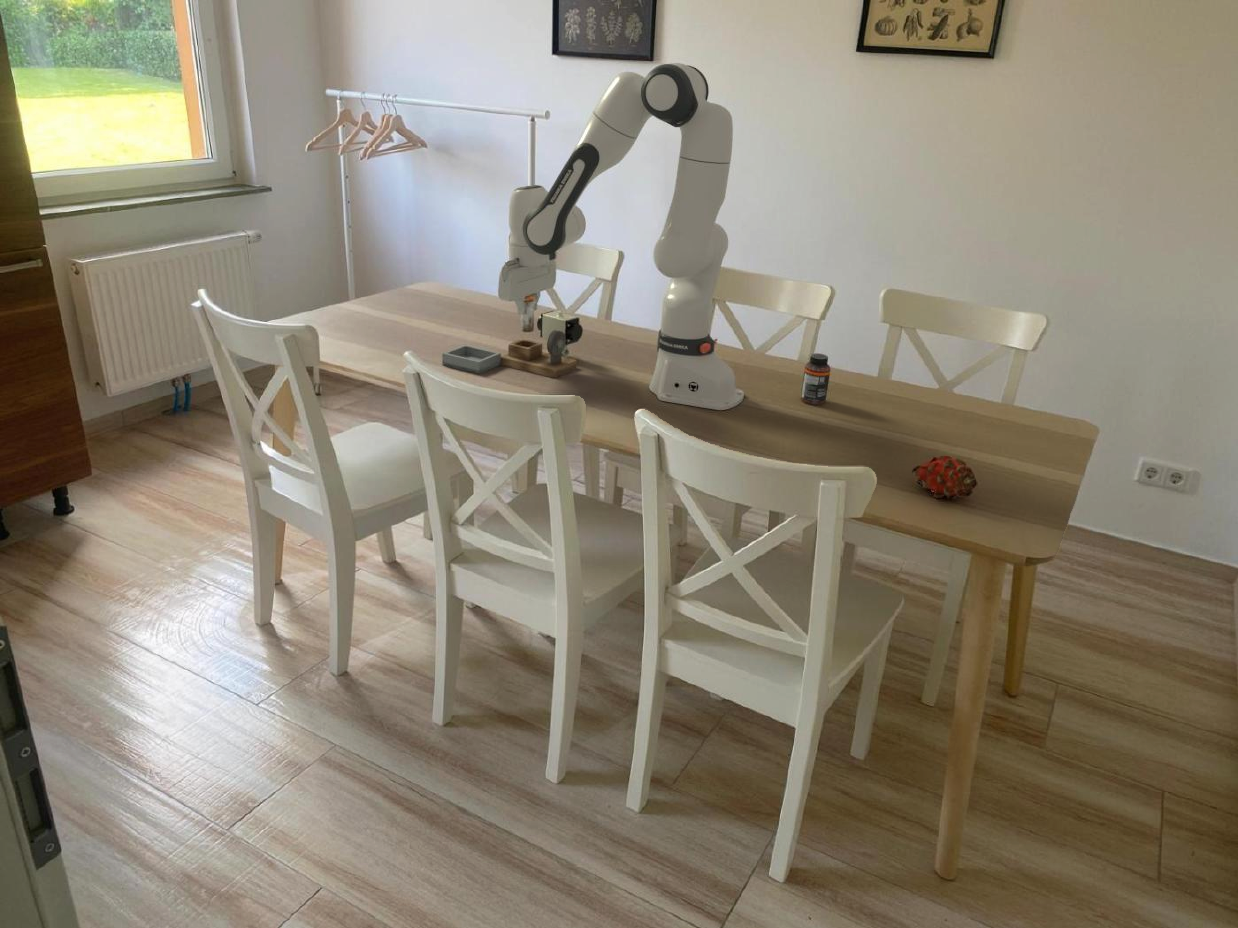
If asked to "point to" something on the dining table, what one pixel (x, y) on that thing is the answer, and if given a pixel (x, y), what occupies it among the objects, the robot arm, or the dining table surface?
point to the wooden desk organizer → (540, 356)
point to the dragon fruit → (946, 477)
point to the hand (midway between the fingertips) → (527, 312)
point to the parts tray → (471, 359)
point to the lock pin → (528, 315)
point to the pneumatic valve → (560, 327)
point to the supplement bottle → (815, 380)
